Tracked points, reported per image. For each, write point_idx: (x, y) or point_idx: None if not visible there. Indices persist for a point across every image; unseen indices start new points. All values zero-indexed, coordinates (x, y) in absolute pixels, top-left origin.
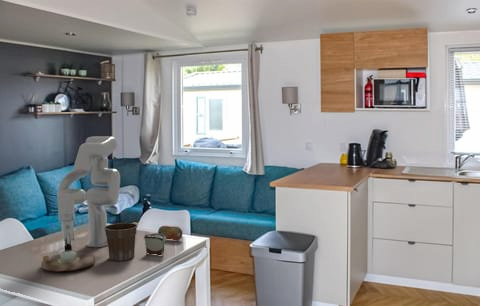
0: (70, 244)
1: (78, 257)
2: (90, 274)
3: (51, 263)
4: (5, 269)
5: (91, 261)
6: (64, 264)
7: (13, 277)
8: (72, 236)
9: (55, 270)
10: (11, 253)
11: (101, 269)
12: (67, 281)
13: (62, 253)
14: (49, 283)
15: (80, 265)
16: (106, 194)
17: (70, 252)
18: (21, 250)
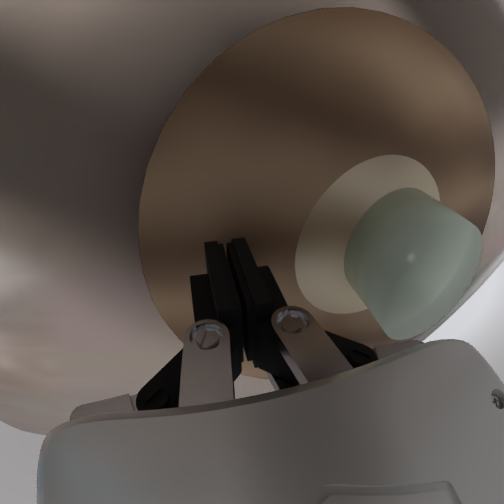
0: (316, 331)
1: (367, 164)
2: (500, 133)
3: (376, 330)
4: None
5: (482, 100)
6: None
7: None
8: (498, 398)
9: None
10: (48, 428)
11: (480, 62)
12: (496, 225)
13: (431, 321)
14: (473, 277)
15: (493, 178)
16: None
17: (454, 270)
18: (11, 409)
